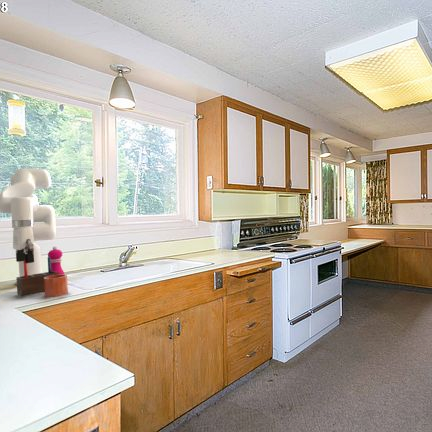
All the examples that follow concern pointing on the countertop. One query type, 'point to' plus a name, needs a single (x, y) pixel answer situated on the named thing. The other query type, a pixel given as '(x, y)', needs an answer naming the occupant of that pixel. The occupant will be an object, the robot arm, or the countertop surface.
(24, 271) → the red toy mallet
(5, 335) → the countertop surface
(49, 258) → the blue rounded rod
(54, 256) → the pepper mill
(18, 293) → the caddy
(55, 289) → the crock
